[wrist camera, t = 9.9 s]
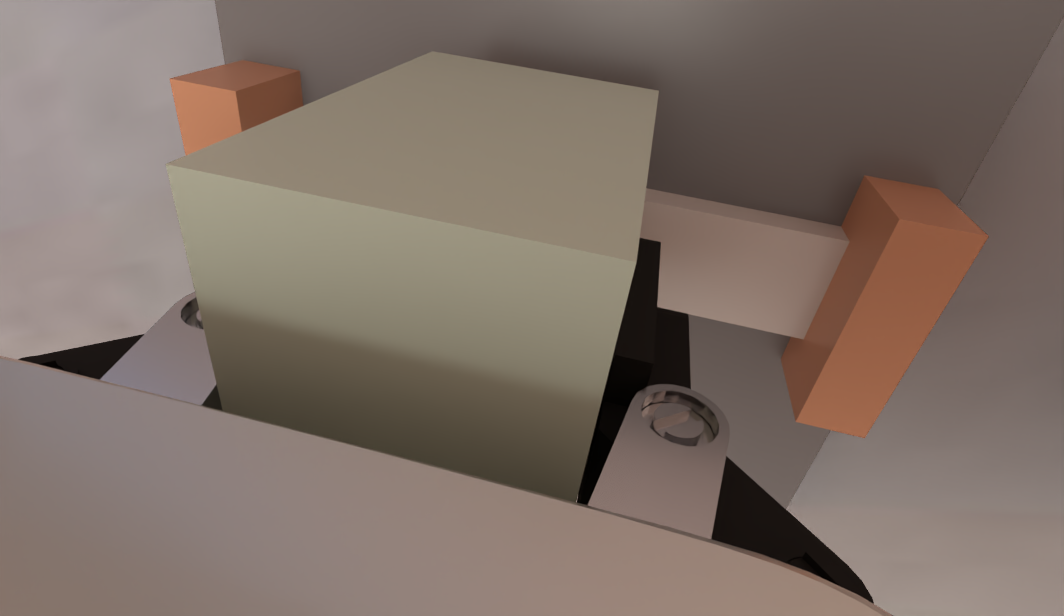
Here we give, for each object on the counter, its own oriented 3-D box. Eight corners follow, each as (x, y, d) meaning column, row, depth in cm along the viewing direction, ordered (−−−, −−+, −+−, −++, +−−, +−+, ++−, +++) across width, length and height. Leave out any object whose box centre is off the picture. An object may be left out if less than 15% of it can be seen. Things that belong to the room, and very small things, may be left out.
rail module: (658, 91, 10) (636, 262, 4) (580, 430, 14) (520, 721, 9) (432, 51, 10) (164, 164, 5) (424, 392, 15) (278, 647, 9)
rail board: (1143, -203, 10) (1355, -272, 7) (767, 503, 19) (783, 605, 16) (208, -302, 12) (42, -390, 9) (297, 384, 21) (235, 455, 18)
